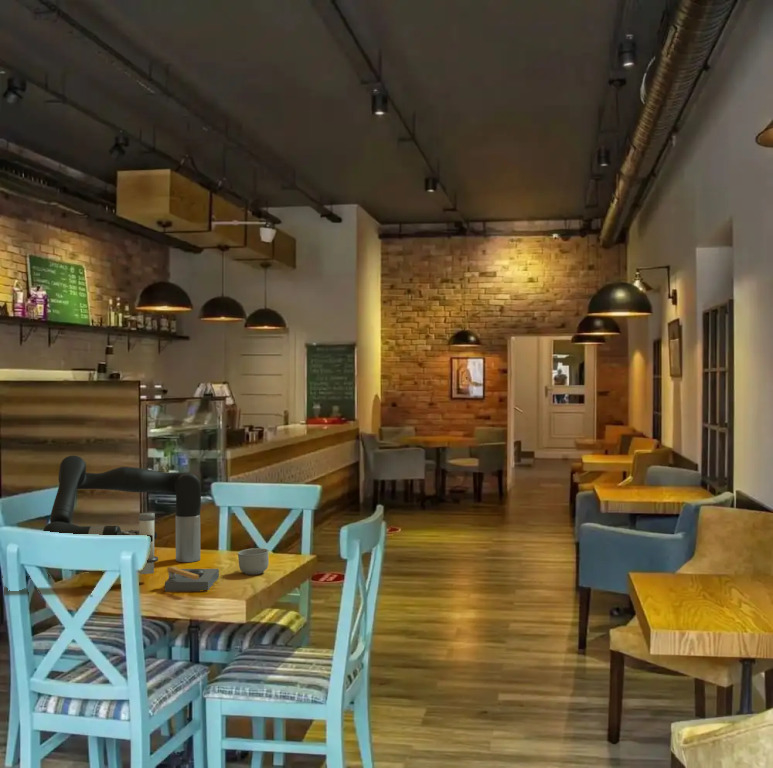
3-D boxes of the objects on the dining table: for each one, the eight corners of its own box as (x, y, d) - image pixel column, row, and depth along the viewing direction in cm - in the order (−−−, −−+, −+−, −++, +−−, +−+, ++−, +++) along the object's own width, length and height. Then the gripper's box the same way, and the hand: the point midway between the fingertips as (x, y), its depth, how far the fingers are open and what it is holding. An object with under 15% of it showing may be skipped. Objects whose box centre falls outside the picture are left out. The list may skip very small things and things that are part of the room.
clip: (174, 569, 290) (174, 566, 290) (201, 578, 277) (201, 574, 277) (165, 571, 288) (165, 567, 288) (192, 580, 275) (192, 576, 275)
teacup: (267, 576, 304) (267, 553, 304) (236, 576, 303) (236, 553, 303) (270, 567, 318) (270, 545, 317) (240, 568, 317) (240, 546, 317)
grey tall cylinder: (138, 569, 299) (138, 512, 299) (160, 570, 299) (160, 512, 299) (132, 574, 292) (132, 515, 292) (154, 574, 292) (155, 515, 292)
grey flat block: (178, 577, 302) (177, 563, 302) (218, 577, 302) (218, 562, 302) (164, 591, 282) (164, 576, 282) (208, 591, 282) (208, 575, 282)
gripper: (110, 543, 302) (159, 544, 303) (97, 551, 288) (149, 552, 288) (111, 522, 302) (159, 522, 303) (97, 529, 288) (149, 529, 288)
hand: (154, 537), depth 295 cm, fingers closed on grey tall cylinder, 5 cm apart
